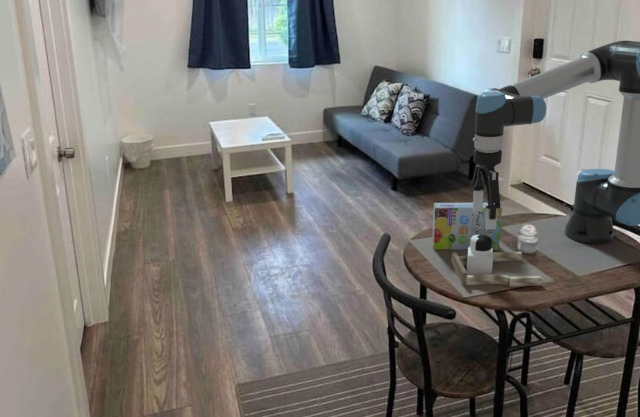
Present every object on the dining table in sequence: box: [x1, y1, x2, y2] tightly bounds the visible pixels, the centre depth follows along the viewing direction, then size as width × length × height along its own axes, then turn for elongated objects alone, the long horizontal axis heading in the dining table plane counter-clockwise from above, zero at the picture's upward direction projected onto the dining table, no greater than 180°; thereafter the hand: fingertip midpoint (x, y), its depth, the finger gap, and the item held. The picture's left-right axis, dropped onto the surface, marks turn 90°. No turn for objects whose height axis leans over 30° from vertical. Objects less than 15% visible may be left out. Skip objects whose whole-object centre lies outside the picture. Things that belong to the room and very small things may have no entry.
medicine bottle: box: [466, 234, 494, 275], centre depth 169 cm, size 7×7×12 cm
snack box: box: [431, 202, 503, 251], centre depth 186 cm, size 21×6×15 cm, turn 84°
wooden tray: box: [450, 251, 543, 287], centre depth 170 cm, size 22×17×4 cm
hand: (483, 219), depth 165 cm, fingers open, 13 cm apart
